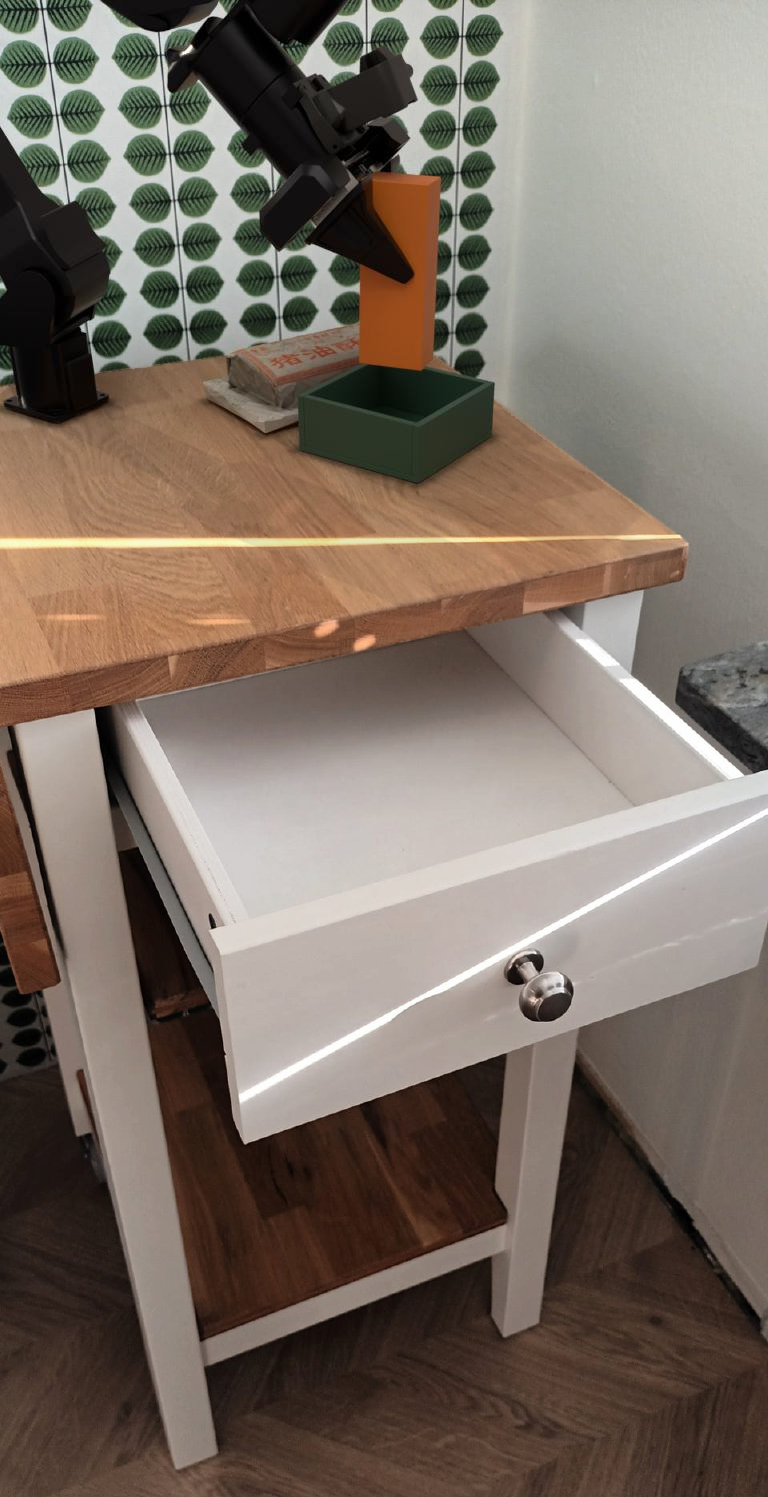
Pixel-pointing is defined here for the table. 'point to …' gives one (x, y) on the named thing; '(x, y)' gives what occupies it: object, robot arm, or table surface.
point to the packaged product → (282, 375)
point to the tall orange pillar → (390, 309)
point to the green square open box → (396, 419)
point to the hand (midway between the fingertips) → (416, 273)
